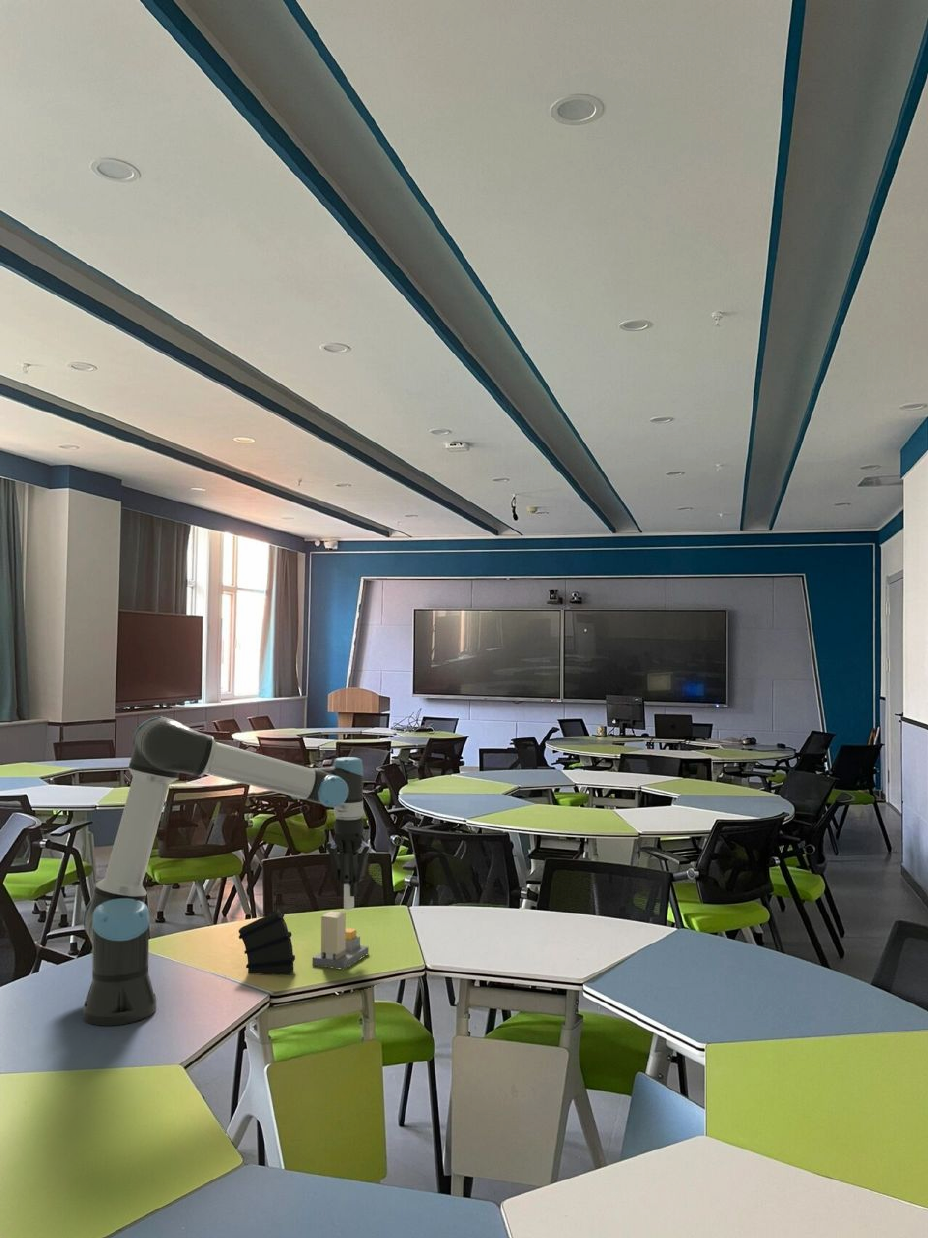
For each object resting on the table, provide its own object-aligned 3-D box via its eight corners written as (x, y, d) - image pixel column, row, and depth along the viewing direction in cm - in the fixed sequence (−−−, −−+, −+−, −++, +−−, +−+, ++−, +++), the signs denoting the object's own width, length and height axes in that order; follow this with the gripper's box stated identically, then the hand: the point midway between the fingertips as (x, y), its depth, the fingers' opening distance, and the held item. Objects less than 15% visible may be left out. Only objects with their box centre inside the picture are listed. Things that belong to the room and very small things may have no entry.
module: (321, 957, 240) (321, 916, 240) (329, 952, 244) (330, 911, 244) (337, 959, 238) (337, 917, 238) (345, 954, 242) (345, 913, 242)
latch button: (340, 943, 247) (340, 931, 247) (346, 939, 250) (346, 928, 250) (350, 944, 246) (350, 932, 246) (356, 941, 249) (356, 929, 249)
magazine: (304, 968, 233) (278, 912, 234) (255, 991, 233) (229, 935, 234) (307, 963, 237) (281, 908, 237) (259, 986, 237) (233, 930, 238)
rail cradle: (312, 965, 240) (312, 947, 240) (338, 950, 252) (338, 933, 252) (343, 970, 237) (343, 951, 237) (368, 954, 249) (368, 936, 249)
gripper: (319, 818, 248) (319, 909, 247) (363, 821, 243) (364, 914, 242) (334, 813, 255) (334, 902, 254) (377, 816, 250) (377, 907, 249)
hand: (349, 908), depth 248 cm, fingers closed
